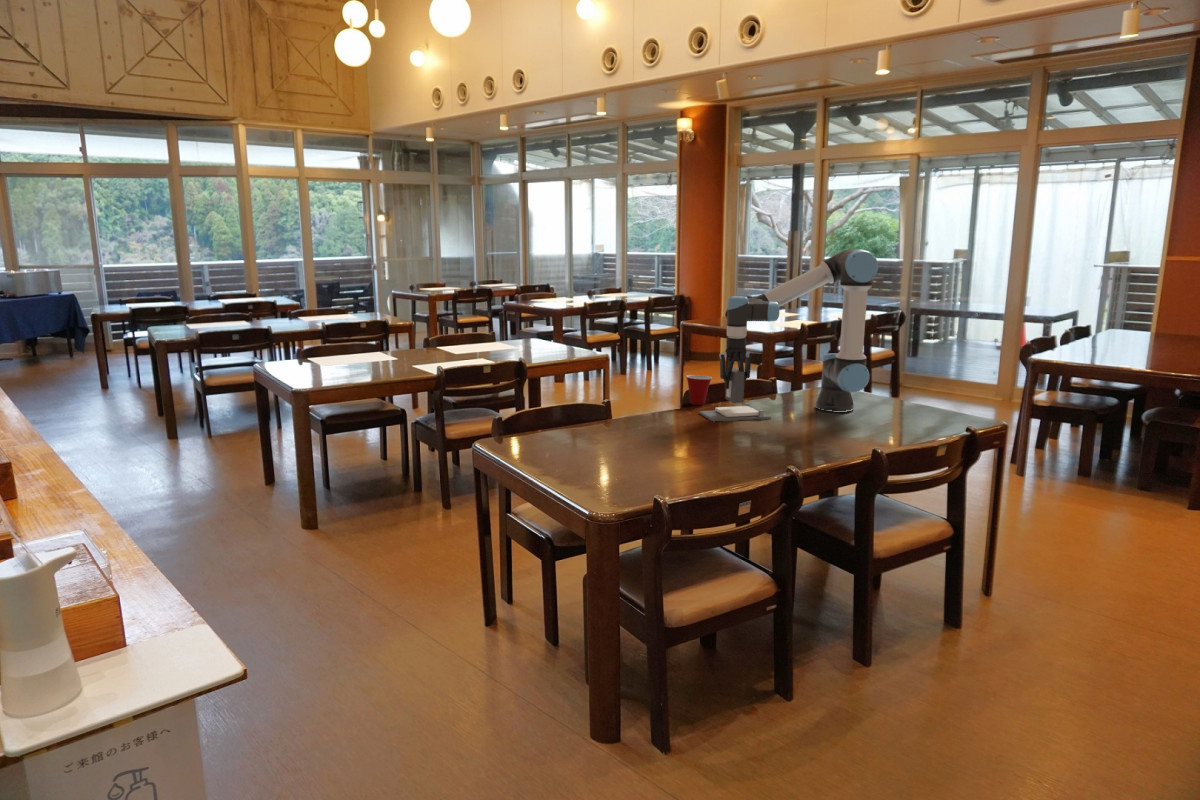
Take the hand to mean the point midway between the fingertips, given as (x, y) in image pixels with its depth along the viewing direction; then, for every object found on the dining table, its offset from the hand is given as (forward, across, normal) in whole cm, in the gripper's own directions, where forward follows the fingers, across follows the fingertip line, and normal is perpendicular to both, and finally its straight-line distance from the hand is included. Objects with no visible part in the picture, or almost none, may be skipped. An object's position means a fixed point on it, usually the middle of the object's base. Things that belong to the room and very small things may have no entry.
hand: (734, 396), depth 305 cm
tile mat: (+8, 0, 0) cm, 8 cm away
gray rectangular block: (+2, 0, 0) cm, 2 cm away
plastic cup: (+8, +6, -24) cm, 26 cm away
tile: (+6, -8, 0) cm, 10 cm away
